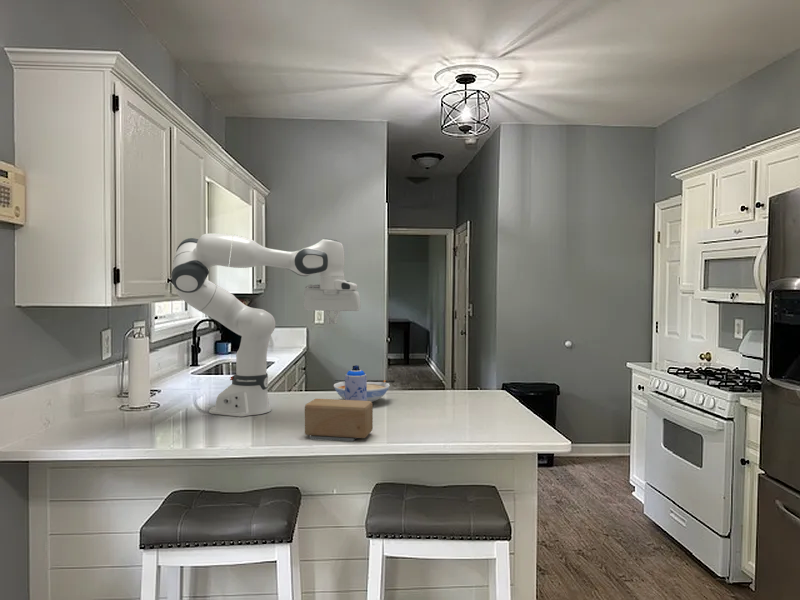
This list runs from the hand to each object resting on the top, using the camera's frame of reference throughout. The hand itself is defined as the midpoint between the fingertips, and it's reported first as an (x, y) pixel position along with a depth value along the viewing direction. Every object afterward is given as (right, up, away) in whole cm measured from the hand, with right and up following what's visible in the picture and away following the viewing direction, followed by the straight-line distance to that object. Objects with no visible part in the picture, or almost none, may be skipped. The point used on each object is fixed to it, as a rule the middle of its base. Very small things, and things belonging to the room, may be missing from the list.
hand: (332, 323), depth 208 cm
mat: (+4, -35, -22) cm, 41 cm away
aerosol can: (+9, -35, -5) cm, 36 cm away
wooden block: (-5, -29, -21) cm, 36 cm away
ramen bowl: (+9, -33, +28) cm, 45 cm away
